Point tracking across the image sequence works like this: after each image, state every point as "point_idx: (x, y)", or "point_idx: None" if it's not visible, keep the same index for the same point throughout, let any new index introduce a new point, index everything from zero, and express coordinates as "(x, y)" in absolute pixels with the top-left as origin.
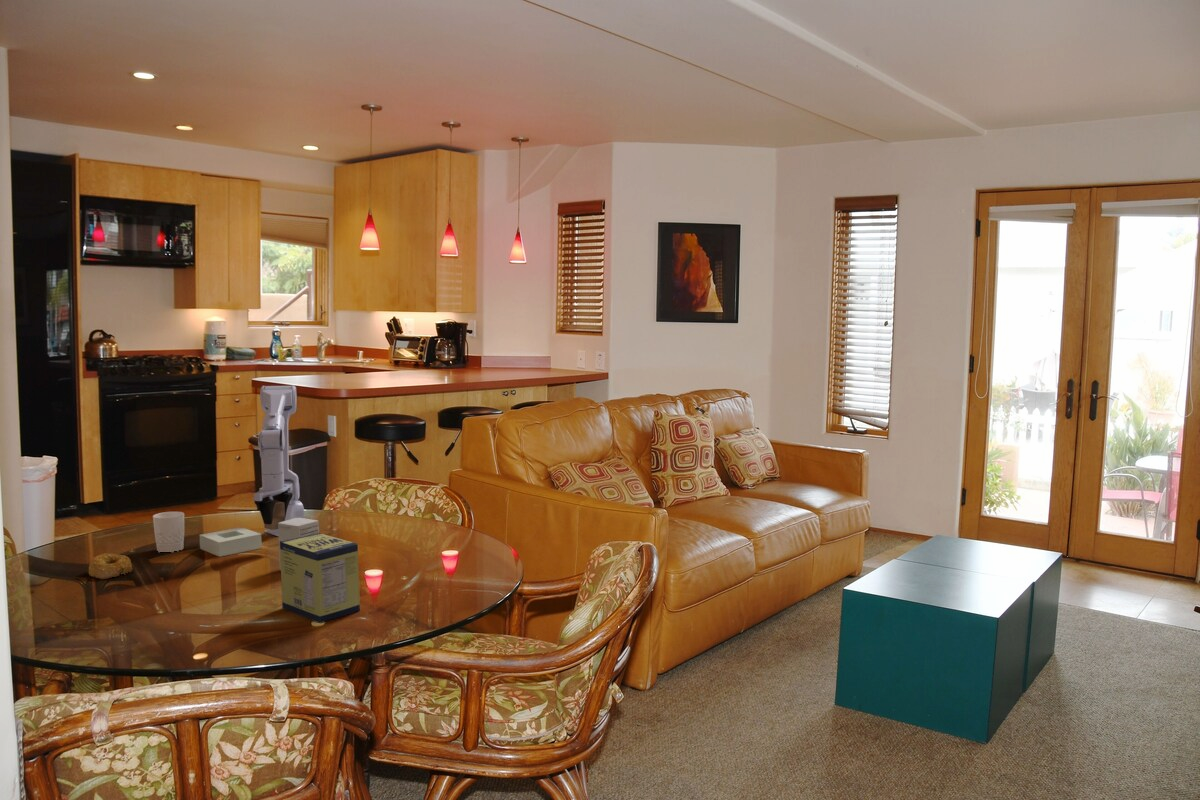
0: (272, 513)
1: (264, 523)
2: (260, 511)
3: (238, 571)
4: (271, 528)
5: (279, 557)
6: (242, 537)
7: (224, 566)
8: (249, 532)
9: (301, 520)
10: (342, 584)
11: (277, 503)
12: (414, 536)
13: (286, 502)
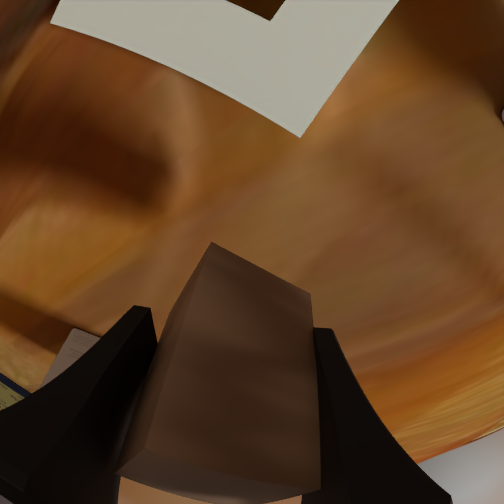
0: (129, 419)
1: (131, 311)
2: (62, 377)
3: (11, 231)
4: (167, 318)
5: (57, 355)
6: (178, 62)
7: (16, 152)
8: (328, 29)
9: None
10: None
11: (188, 495)
12: (417, 436)
13: (303, 496)
